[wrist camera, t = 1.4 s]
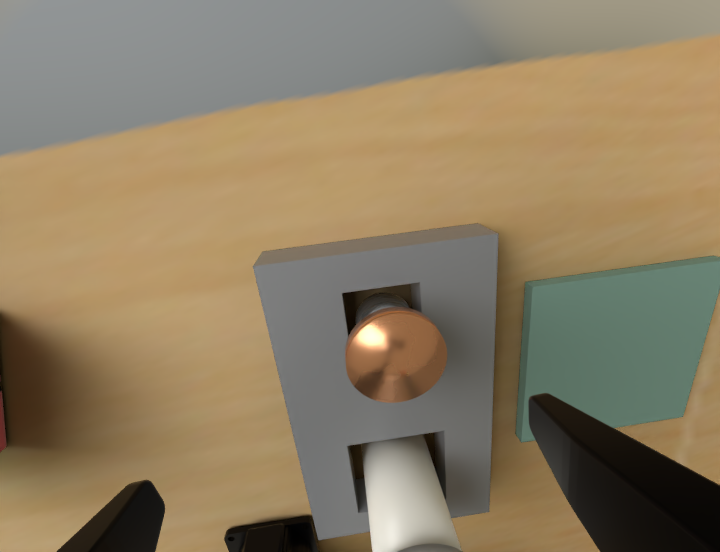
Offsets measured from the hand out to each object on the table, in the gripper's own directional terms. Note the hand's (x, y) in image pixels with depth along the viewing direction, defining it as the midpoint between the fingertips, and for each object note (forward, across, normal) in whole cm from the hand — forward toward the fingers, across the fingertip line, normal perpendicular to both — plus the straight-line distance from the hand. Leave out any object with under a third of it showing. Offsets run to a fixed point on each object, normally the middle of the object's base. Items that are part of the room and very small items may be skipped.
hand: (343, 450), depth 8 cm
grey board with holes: (+12, -1, +10) cm, 15 cm away
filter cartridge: (+12, -1, +14) cm, 18 cm away
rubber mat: (+12, -16, +10) cm, 23 cm away
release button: (+10, -2, +3) cm, 11 cm away
